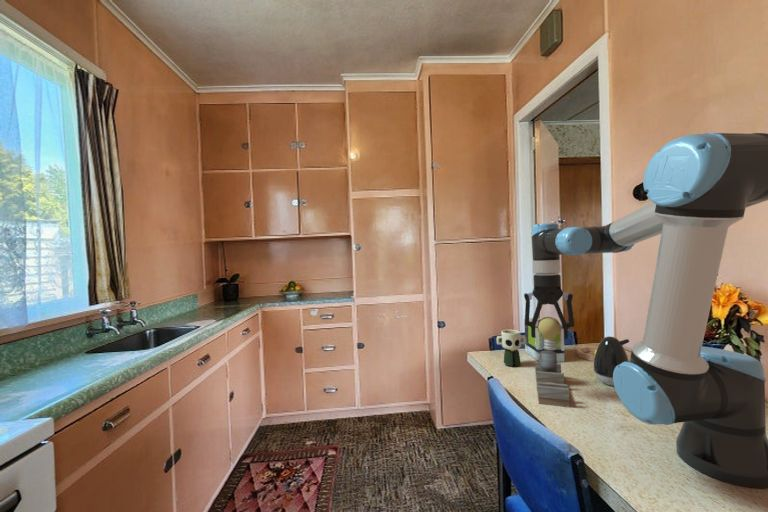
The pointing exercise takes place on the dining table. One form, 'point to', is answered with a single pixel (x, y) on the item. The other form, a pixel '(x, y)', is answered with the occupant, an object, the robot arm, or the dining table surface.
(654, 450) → the dining table surface
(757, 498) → the dining table surface
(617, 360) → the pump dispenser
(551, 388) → the grey stacked slabs
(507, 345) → the character mug
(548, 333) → the light bulb
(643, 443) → the dining table surface
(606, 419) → the dining table surface
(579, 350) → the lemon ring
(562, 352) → the tea box
